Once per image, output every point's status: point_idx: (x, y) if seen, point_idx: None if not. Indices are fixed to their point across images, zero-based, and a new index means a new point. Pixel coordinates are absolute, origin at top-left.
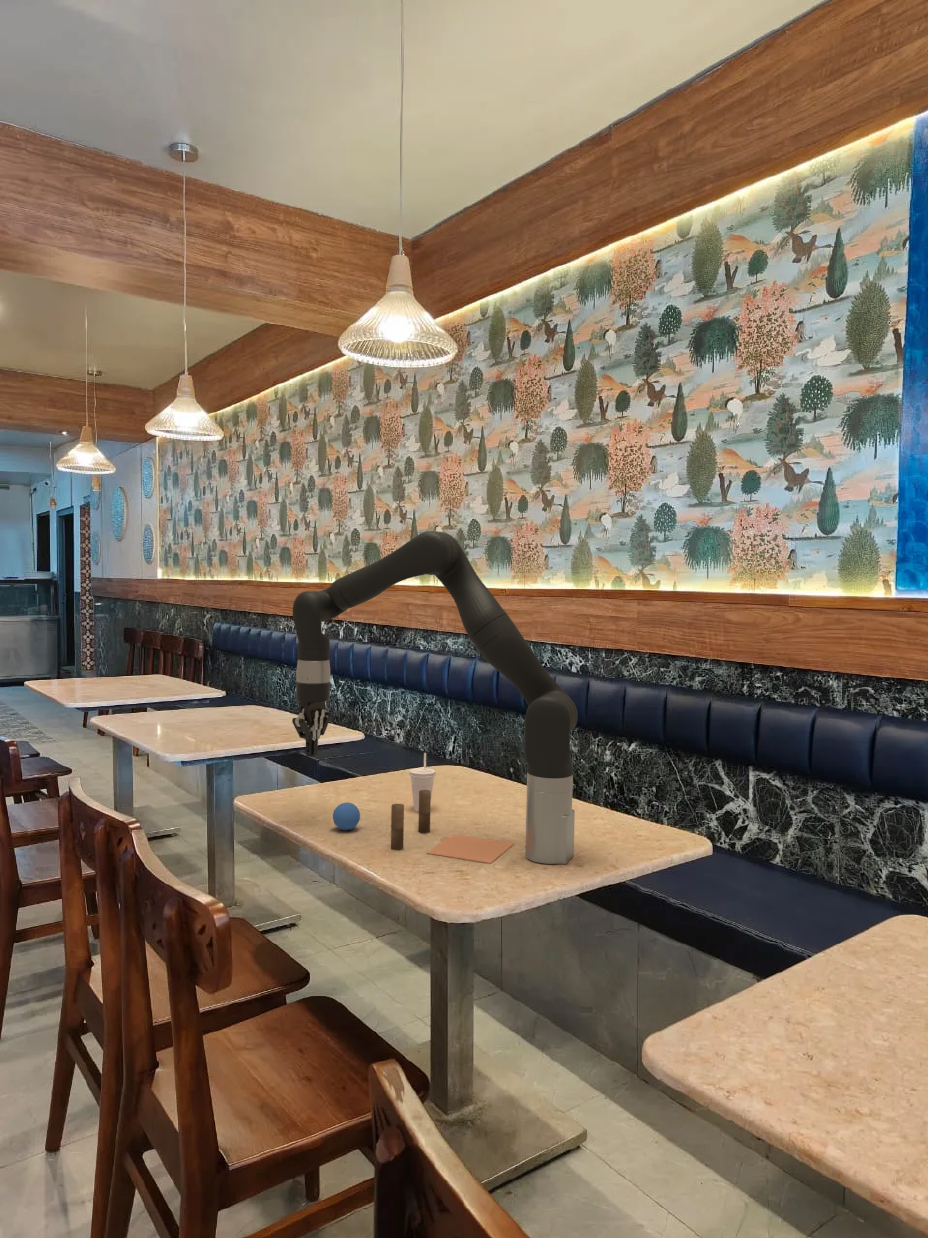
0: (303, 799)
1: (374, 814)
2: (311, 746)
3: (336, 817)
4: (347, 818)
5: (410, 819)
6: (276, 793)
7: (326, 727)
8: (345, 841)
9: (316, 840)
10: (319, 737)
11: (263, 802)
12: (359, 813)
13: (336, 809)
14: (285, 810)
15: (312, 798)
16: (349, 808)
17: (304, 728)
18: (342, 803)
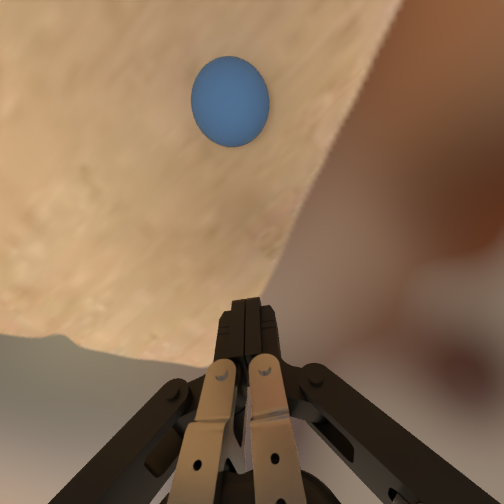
0: (149, 314)
1: (91, 142)
2: (272, 334)
3: (268, 110)
4: (257, 71)
5: (23, 8)
6: (161, 357)
7: (124, 428)
8: (312, 23)
9: (341, 103)
10: (217, 366)
11: (209, 340)
12: (208, 63)
13: (258, 122)
14: (217, 293)
15: (132, 309)
16: (242, 76)
17: (419, 443)
18: (235, 120)
